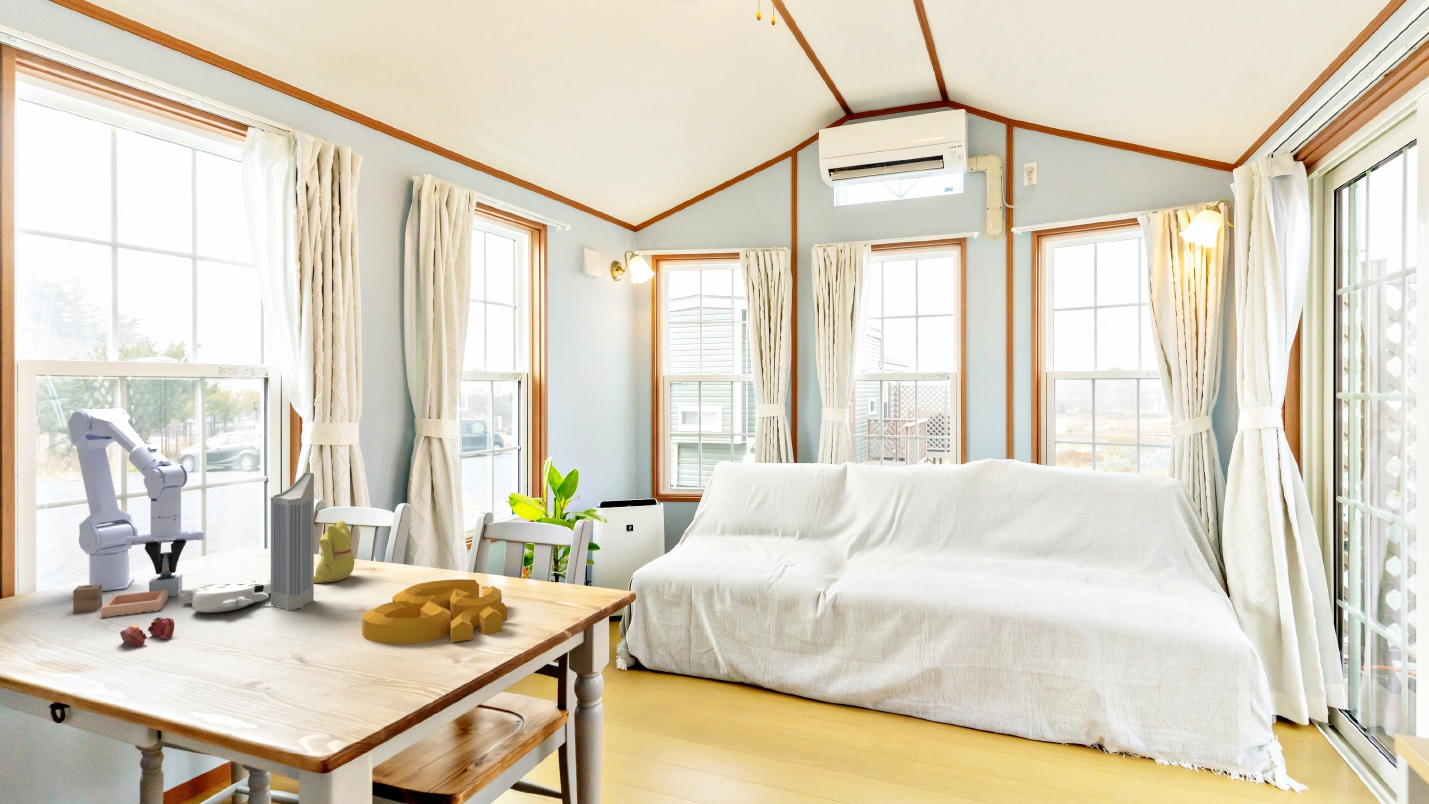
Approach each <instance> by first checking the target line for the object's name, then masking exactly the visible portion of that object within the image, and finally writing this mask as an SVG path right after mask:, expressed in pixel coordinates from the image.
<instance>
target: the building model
mask: <svg viewBox="0 0 1429 804" xmlns="http://www.w3.org/2000/svg"><path fill="white" fill-rule="evenodd" d="M314 499H315V472H308V471H307V472H304V473H303V474H302V475H301V476H300V477H299V478H298V479H297V481H295V482H294V483H293V484H292V485H291V486H290V487H289V488H287V489H286V490H285V491H282V492H281V493H276V494H274V495H272V497H271V496H270V581H271V593H270V606H271V605H273V606H272V607H275V606H279V607H278V608H280V607H282V608H281V609H283V608H285V609H284V610H286V609H287V610H286V611H291V610H290V609H294V610H298V609H297V608H301V607H304V606H305V605H307V604H308V603H311V602H313V601H314V599H315V597H314V593H315V592H314V589H315V587H314V584H315V583H314V576H315V574H314V573H315V572H314V571H315V570H314V567H315V566H314V565H315V563H314V560H315V558H314V557H315V553H314V552H315V551H314V550H315V540H314V539H315V535H314V534H315V532H314V531H315V500H314ZM312 600H313V601H312ZM310 601H311V602H310ZM306 603H307V604H306ZM304 604H305V605H304ZM303 605H304V606H303ZM301 609H302V608H301Z"/></svg>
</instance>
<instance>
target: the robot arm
mask: <svg viewBox="0 0 1429 804" xmlns="http://www.w3.org/2000/svg"><path fill="white" fill-rule="evenodd" d="M131 421H132V419H131V416H130V415H129V414H128V413H127V411H126V410H125V409H123V408H120V407H117V408H101V409H100V408H96V409H90V408H89V409H83V408H78V409H76V410H74V411H73V413H72V414H71V415H70V418H69V420H68V421H67V425H68V429H69V433H70V438H71V443H72V445H73V446H75V447H76V452H77V456H78V457H77V458H78V460H79V461H78V462H79V466H80V471H81V476H82V480H83V484H84V489H85V494H86V499H87V503H88V508H89V513H90V515H88V516H87V517H86V518H85V519H84V520H83V521H82V522H81V523H80V524H79V525H78V527H79V536H78V544H79V547H80V549H82V551H83V552H84V553H85V554H87V555H88V558H89V559H88V560H89V561H88V562H89V563H88V566H89V567H88V575H89V576H88V579H89V581H88V585H93V584H102V592H105V591H115V590H116V591H117V590H124V589H127V588H129V586H130V585H131V584H132V583H133V581H134V580H135V577H130V555H129V550H131V549H132V546H138V545H145V546H144V551H145V552H146V554H147V555H148V556H149V558H150V560H151V562H152V565H153V566H154V571H155V575H160V553H162V543H164V544H165V543H170V552H171V556H172V562H171V573H172V574H173V573H174V574H176V573H177V566H178V562H179V559H180V556H181V555H182V551H183V550H184V547H185V546H186V544H187V542H191V541H203V540H204V539H205V530H197V531H196V530H194V531H193V530H191V531H182V488H183V487H185V485H186V484H187V481H188V473H187V469H186V468H185V467H184V465H182V464H180V463H175V462H171V461H170V460H168V458H167V457H166V456H165V455H164V454H163V453H161V451H160V450H159V449H158V447H157V446H156V445H153V444H145V441H143V440H142V438H141V437H140V436H139V435H138V434H137V432H136V430H135V429H133V427H132V426H131V424H132V423H131ZM114 442H116V443H117V444H118V445H119V446H120V447H122V448H123V449H124V450H125V451H126V452H128V453H129V456H128V461H129V462H130V463H131V464H132V465H133V466H134V468H135V469H137V470H138V472H140V473H141V474H142V475H143V484H144V486H145V488H146V491H147V496H148V498H149V499H150V533H148V534H140V535H139V533H138V529H137V526H136V525H135V524H134V522H133V520H132V519H133V518H132V516H131V515H130V514H129V513H127V512H125V511H123V510H121V509H120V508H119V506H118V499H117V495H116V491H115V486H114V482H113V476H112V474H111V469H110V464H109V459H108V454H107V450H106V449H107V447H108V446H109V445H110V444H113V443H114Z"/></svg>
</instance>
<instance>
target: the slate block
mask: <svg viewBox="0 0 1429 804" xmlns="http://www.w3.org/2000/svg"><path fill="white" fill-rule="evenodd" d="M159 590H168V596H173V597H176V596H175V595H179V596H180V595H181V593H182V591H183V573H177V574H176V573H174V574H172V579H165V580H160V575H155V576H152V578H151V579H150V580H149V582H148V592H149V591H159Z"/></svg>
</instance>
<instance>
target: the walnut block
mask: <svg viewBox="0 0 1429 804" xmlns="http://www.w3.org/2000/svg"><path fill="white" fill-rule="evenodd" d="M72 593H73V594H72V599H73V601H72V603H73V604H72V607H73V609H72V610H73V614H77V613H86V612H94V611H95V612H96V611H99V609H101V607H102V606H103V591H102V584H93V585H89V584H84V585H83V584H82V585H78V586H77V587H76V588H74V589H73V592H72Z"/></svg>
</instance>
